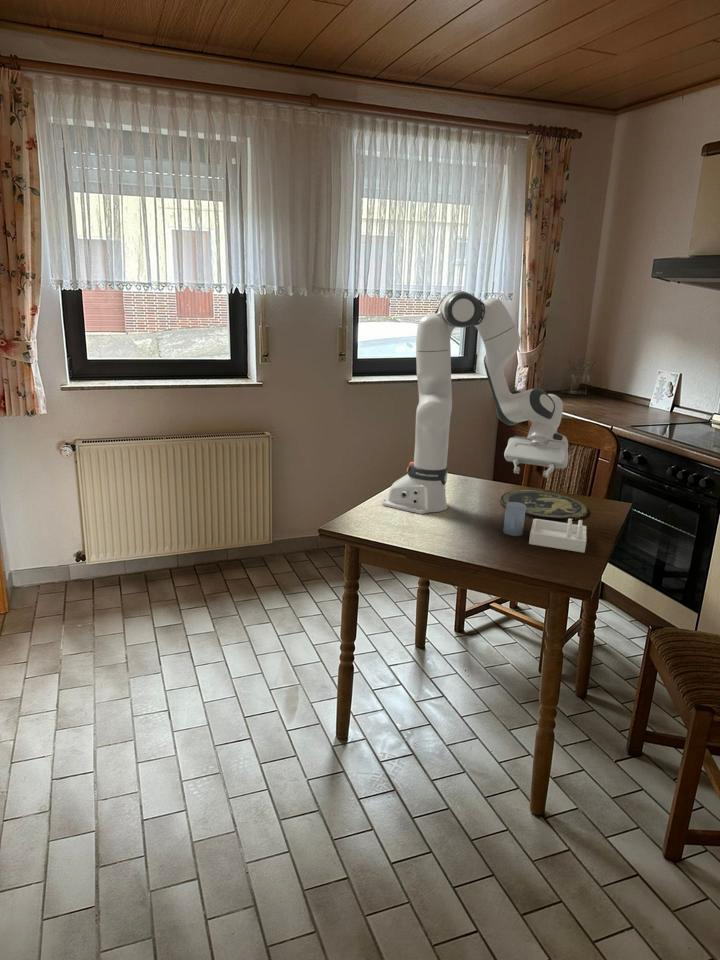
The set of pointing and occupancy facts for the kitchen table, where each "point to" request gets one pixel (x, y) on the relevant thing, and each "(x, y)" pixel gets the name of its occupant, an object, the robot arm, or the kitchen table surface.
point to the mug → (514, 518)
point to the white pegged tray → (558, 535)
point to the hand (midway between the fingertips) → (530, 474)
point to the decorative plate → (546, 505)
